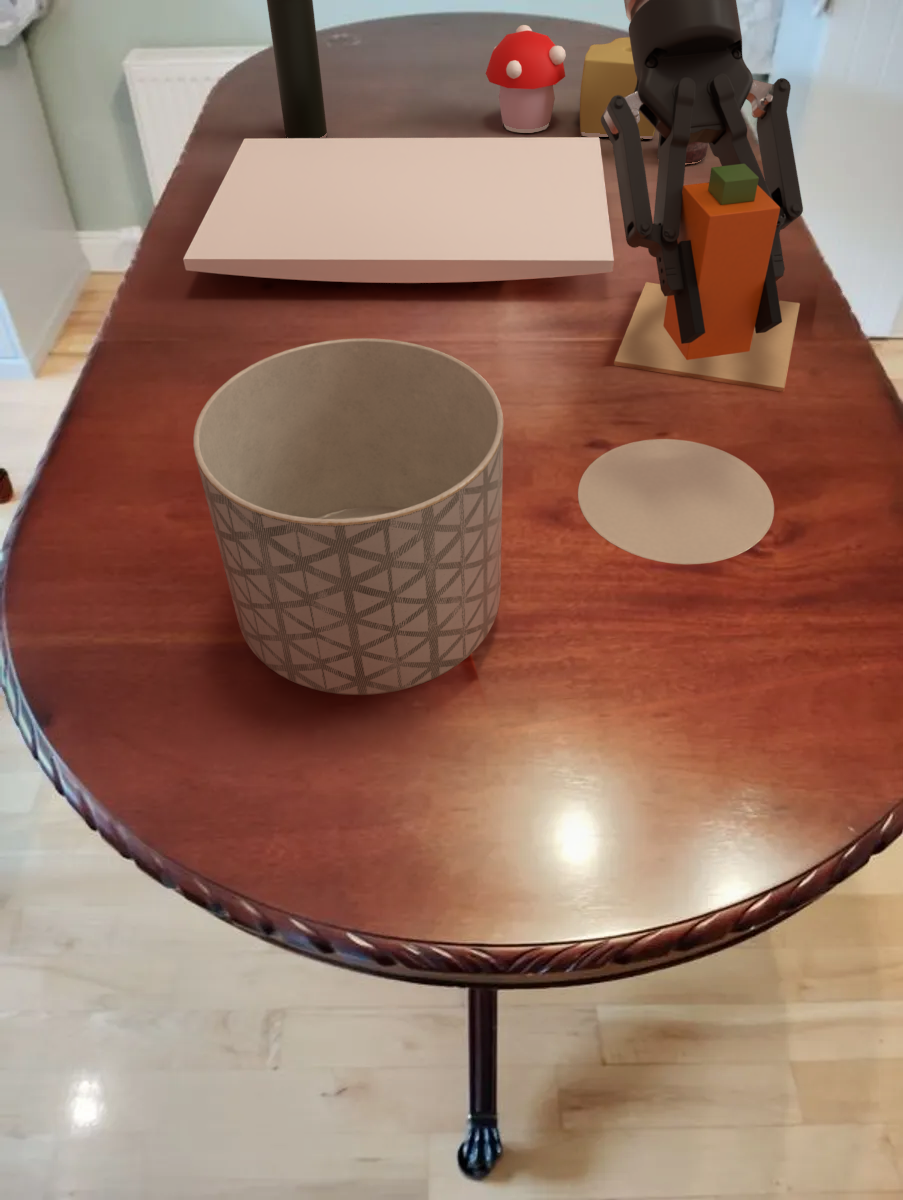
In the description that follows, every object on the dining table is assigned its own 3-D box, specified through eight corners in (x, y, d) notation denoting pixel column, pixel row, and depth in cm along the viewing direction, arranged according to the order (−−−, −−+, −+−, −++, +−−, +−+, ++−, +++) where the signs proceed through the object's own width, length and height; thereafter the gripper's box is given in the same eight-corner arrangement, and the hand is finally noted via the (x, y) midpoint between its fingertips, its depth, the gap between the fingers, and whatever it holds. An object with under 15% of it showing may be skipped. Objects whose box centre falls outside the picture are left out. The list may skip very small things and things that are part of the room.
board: (596, 174, 128) (599, 137, 125) (609, 302, 106) (614, 260, 102) (250, 175, 131) (244, 138, 127) (192, 299, 108) (183, 259, 105)
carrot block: (723, 317, 78) (754, 153, 69) (749, 351, 74) (786, 183, 65) (662, 326, 77) (685, 161, 68) (686, 360, 74) (714, 192, 65)
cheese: (585, 110, 143) (590, 33, 136) (661, 114, 142) (670, 36, 135) (576, 139, 136) (581, 59, 129) (656, 143, 135) (665, 63, 127)
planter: (522, 554, 79) (530, 355, 66) (466, 746, 66) (462, 545, 53) (297, 520, 83) (262, 323, 70) (202, 695, 70) (137, 495, 57)
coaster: (797, 311, 104) (800, 303, 103) (782, 396, 93) (784, 387, 92) (644, 290, 107) (645, 281, 107) (613, 369, 97) (614, 361, 96)
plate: (782, 462, 86) (783, 457, 86) (761, 587, 76) (762, 582, 75) (600, 430, 90) (601, 425, 90) (556, 545, 80) (556, 540, 79)
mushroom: (558, 142, 136) (564, 45, 127) (479, 138, 137) (479, 42, 129) (566, 112, 143) (571, 19, 134) (490, 109, 145) (491, 17, 136)
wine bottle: (316, 126, 142) (286, -132, 120) (334, 139, 138) (306, -124, 117) (279, 135, 140) (242, -126, 118) (296, 149, 136) (261, -117, 115)
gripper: (775, 26, 76) (823, 330, 76) (545, 48, 73) (595, 362, 74) (824, -37, 68) (876, 301, 69) (570, -14, 66) (626, 335, 66)
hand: (731, 332), depth 71 cm, fingers closed on carrot block, 5 cm apart
